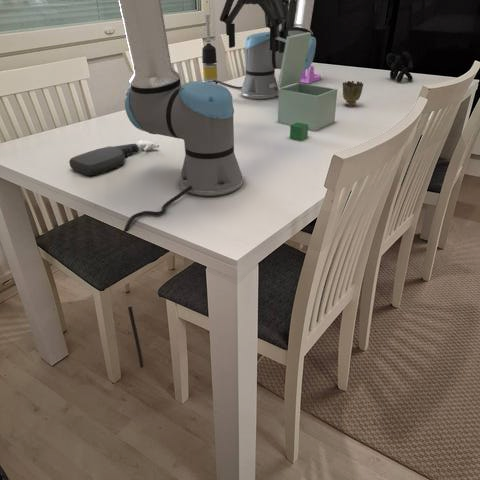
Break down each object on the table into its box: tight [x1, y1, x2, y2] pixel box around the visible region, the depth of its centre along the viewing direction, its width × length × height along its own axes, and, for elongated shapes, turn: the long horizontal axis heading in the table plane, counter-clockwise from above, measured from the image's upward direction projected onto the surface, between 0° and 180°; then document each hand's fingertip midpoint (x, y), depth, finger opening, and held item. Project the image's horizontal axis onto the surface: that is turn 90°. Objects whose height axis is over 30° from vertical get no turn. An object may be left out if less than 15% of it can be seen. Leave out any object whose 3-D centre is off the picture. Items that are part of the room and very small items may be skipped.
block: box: [289, 122, 309, 142], centre depth 137 cm, size 4×4×4 cm
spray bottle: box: [68, 139, 160, 177], centre depth 124 cm, size 3×11×24 cm
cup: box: [342, 80, 364, 107], centre depth 165 cm, size 7×7×8 cm
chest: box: [277, 82, 338, 132], centre depth 148 cm, size 15×12×11 cm
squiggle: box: [385, 51, 414, 83], centre depth 198 cm, size 11×10×15 cm
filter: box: [201, 14, 219, 84], centre depth 171 cm, size 6×6×30 cm
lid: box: [269, 32, 311, 89], centre depth 146 cm, size 16×12×9 cm
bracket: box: [300, 65, 322, 84], centre depth 202 cm, size 13×6×7 cm, turn 143°
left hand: (251, 48), depth 135 cm, fingers open, 13 cm apart
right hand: (278, 51), depth 147 cm, fingers closed on lid, 2 cm apart
